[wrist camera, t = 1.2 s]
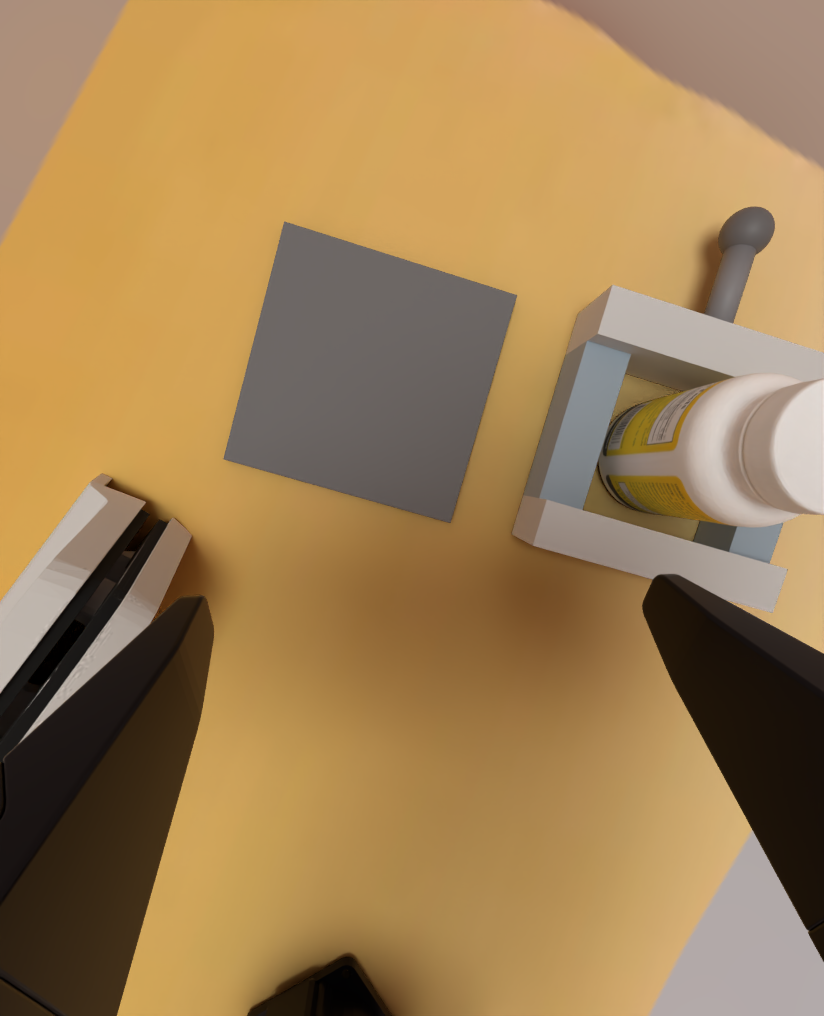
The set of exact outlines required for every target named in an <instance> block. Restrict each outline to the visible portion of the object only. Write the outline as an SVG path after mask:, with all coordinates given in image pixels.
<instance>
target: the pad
mask: <svg viewBox="0 0 824 1016" xmlns="http://www.w3.org/2000/svg"><path fill="white" fill-rule="evenodd" d="M516 297H517V295H515V294H511V293H508V292H505V291H502V290H499V289H496V288H492V287H489V286H486V285H483V284H480V283H477V282H473V281H470V280H467V279H464V278H461V277H458V276H455V275H451V274H448V273H445V272H442V271H439V270H436V269H432V268H429V267H426V266H423V265H420V264H417V263H413V262H410V261H407V260H404V259H401V258H398V257H395V256H391V255H388V254H385V253H382V252H379V251H376V250H372V249H369V248H366V247H363V246H360V245H357V244H354V243H350V242H347V241H344V240H341V239H338V238H335V237H331V236H328V235H325V234H322V233H319V232H316V231H312V230H309V229H306V228H303V227H300V226H297V225H294V224H290V223H287V222H284V225H283V229H282V233H281V236H280V240H279V244H278V248H277V252H276V256H275V260H274V264H273V268H272V272H271V276H270V279H269V283H268V287H267V291H266V295H265V299H264V303H263V307H262V311H261V315H260V318H259V322H258V326H257V330H256V334H255V338H254V342H253V346H252V350H251V354H250V357H249V361H248V365H247V369H246V373H245V377H244V381H243V385H242V389H241V393H240V397H239V400H238V404H237V408H236V412H235V416H234V420H233V424H232V428H231V432H230V436H229V439H228V443H227V447H226V451H225V455H224V460H228V461H232V462H235V463H239V464H242V465H246V466H249V467H253V468H256V469H260V470H264V471H267V472H271V473H274V474H278V475H281V476H285V477H288V478H292V479H296V480H299V481H303V482H306V483H310V484H313V485H317V486H321V487H324V488H328V489H331V490H335V491H338V492H342V493H345V494H349V495H353V496H356V497H360V498H363V499H367V500H370V501H374V502H377V503H381V504H385V505H388V506H392V507H395V508H399V509H402V510H406V511H409V512H413V513H417V514H420V515H424V516H427V517H431V518H434V519H438V520H441V521H445V522H449V523H451V519H452V516H453V512H454V509H455V506H456V502H457V499H458V495H459V492H460V488H461V485H462V482H463V478H464V475H465V471H466V468H467V465H468V461H469V458H470V454H471V451H472V447H473V444H474V441H475V437H476V434H477V430H478V427H479V424H480V420H481V417H482V413H483V410H484V406H485V403H486V400H487V396H488V393H489V389H490V386H491V383H492V379H493V376H494V372H495V369H496V365H497V362H498V359H499V355H500V352H501V348H502V345H503V342H504V338H505V335H506V331H507V328H508V324H509V321H510V318H511V314H512V311H513V307H514V304H515V301H516Z"/></svg>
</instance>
